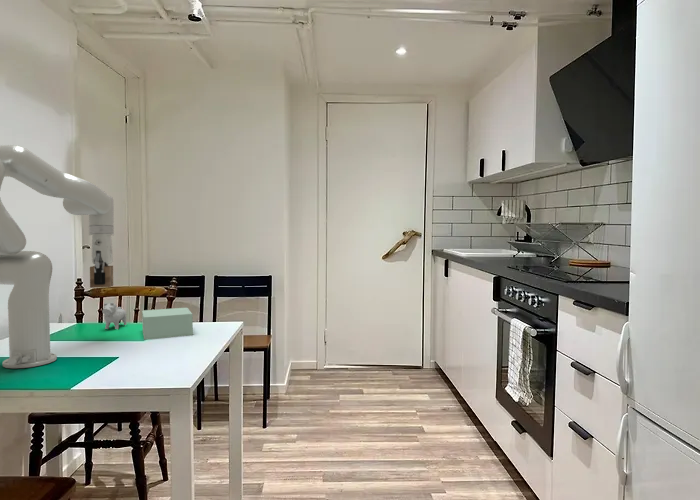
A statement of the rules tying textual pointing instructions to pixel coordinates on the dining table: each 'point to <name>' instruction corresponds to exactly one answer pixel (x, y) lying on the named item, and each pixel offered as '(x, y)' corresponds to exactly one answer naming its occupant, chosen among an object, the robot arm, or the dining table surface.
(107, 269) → the walnut block
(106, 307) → the white dog figurine
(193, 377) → the dining table surface
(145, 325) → the sage box
